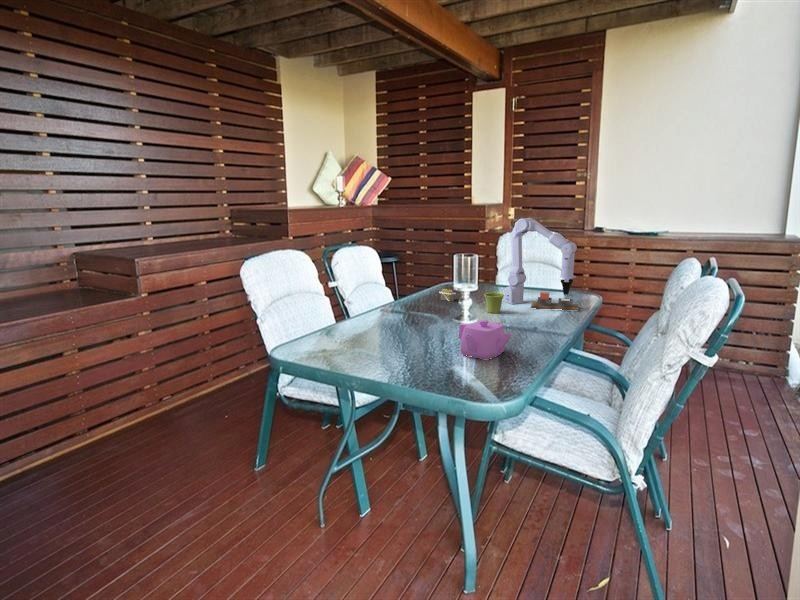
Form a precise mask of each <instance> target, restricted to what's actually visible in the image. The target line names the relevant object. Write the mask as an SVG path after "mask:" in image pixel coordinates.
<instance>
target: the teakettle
mask: <svg viewBox="0 0 800 600" xmlns="http://www.w3.org/2000/svg"><path fill="white" fill-rule="evenodd" d="M512 337H513V334H512V333H510V332H506V333H505V330H504V325H503V324H501V323H500V322H498V321H497V322H496V321H493V322H489V320H487V319H479V321H475V322H472V323H466V322H465V323H463V322H461V323H460V324H459V330H458V339H460V347H459V348H460V354H461V355H462V354H463V355H467V356H472V357H475V358H481V359H490V358H493V357H495V356H498V355H499V354H501V353H502V352H504V353H505V350H506V345H507V343H508V342H509V340H510V339H511V338H512ZM463 355H462V356H463ZM501 355H502V354H501ZM467 356H466V357H467ZM498 357H499V356H498ZM475 358H474V359H475ZM493 359H494V358H493Z"/></svg>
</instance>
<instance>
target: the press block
mask: <svg viewBox="0 0 800 600" xmlns="http://www.w3.org/2000/svg"><path fill="white" fill-rule="evenodd" d="M561 299H566V298H564V297H560V298H558V301H557V302H552V301H553V298H552V297H549V300H545V299H540V296H537V301H532V303H531V305H530V309H531V308H536V309H535V310H539V309H562V310H578V311H579V304H578V303H573V302H574V301H573V299H574V298H569V299H570V301H561Z"/></svg>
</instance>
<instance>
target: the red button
mask: <svg viewBox="0 0 800 600" xmlns="http://www.w3.org/2000/svg"><path fill="white" fill-rule="evenodd" d="M539 297H540V299H545V300H549V298H550V292H549V291H540V292H539Z"/></svg>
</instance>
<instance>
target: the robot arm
mask: <svg viewBox="0 0 800 600" xmlns="http://www.w3.org/2000/svg"><path fill="white" fill-rule="evenodd" d="M529 231H533V232H537V233H538V234H540V235H542V236H544V237H545V238H547V239H548V241H549V243H550V244H551V245H553V246H554V247H555V248H557V249H558V250H560V252H561V253H562V257H561V268H560V270H561V272H560V278H561V279H560V283H561V286H562V293H563V295H569V293H570V289H571V285H572V284H573V279H576V278H577V276H576V275H574V269H575V268H574V267H575V254H576V252H577V248H578V247H577V246H578V245H577V244H576V243H575V242H574V241H570V239H566V238H565V237H564V236H562V234H561V233H560V232H554V233H553V232H552V231H551V230H550V229H548V228H546V226H544V225H542V224H541V223H540V222H539V221H537V220H535V219H533V218H532V217H527V218H526V217H525V218H519V219H518V220H517V221H515V223H514V227H513V228H512V230H511V232H510V233H511V234H510V237H511V238H510V240H511V241H510V242H511V243H510V246H511V268H510V270H509V274H508V275H509V276H508V277H507V282H508V284H509V285H508V286H506V287H505V289H504V296H503V299H504V300H503V302H504V303H507V304H511V305H517V304H525V302H526V303H527V301H526V300H524V288H525V284H524V283H526V280H527V275H526V273H525V268H524V267H523V236H524V235H525V234H526V233H527V232H529Z"/></svg>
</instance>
